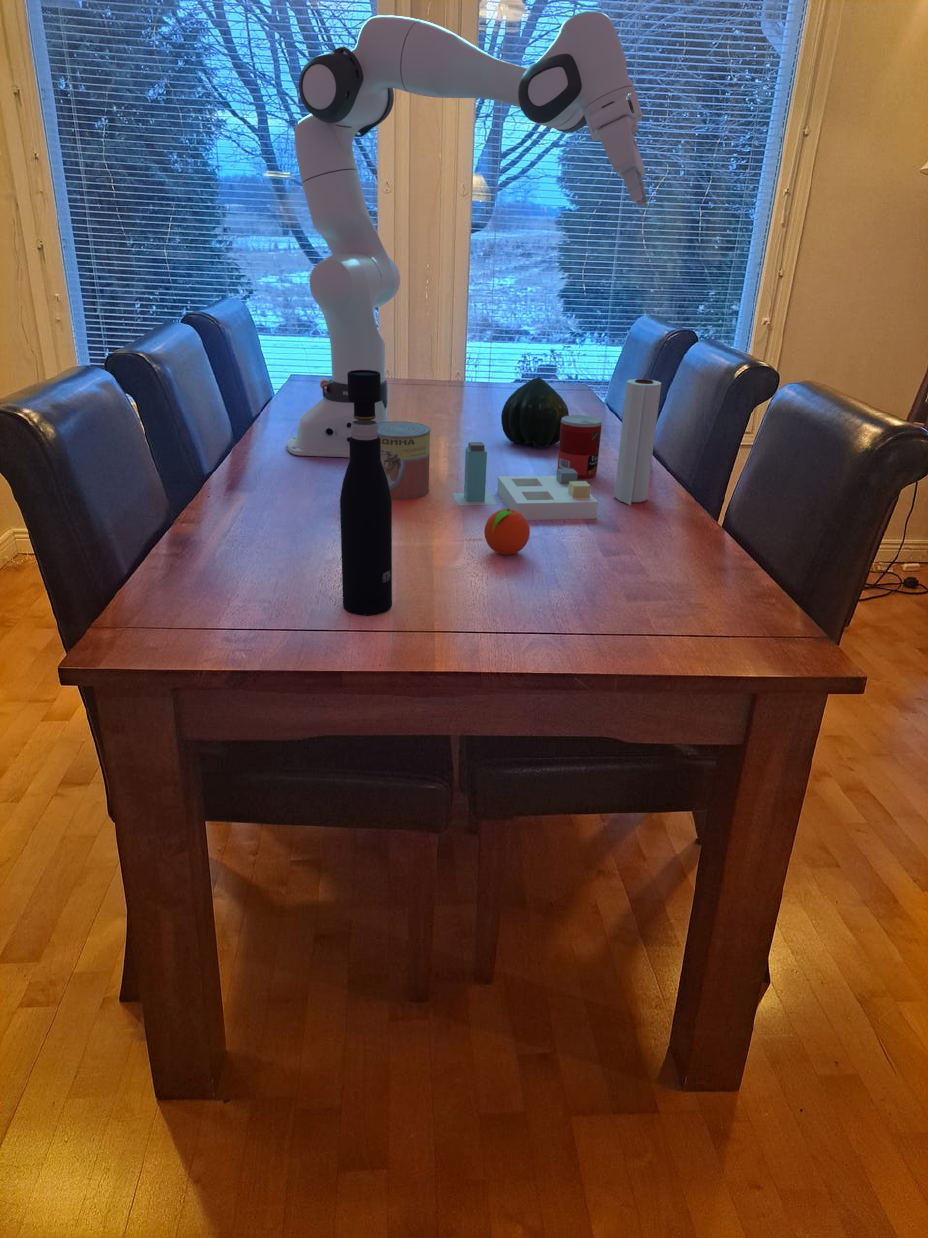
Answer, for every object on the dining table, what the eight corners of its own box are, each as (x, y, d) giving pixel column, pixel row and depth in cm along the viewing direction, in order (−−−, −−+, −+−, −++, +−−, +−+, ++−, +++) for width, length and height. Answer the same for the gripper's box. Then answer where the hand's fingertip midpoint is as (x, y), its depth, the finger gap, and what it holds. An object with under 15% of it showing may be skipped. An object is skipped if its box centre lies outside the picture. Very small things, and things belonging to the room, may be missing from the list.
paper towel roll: (626, 491, 167) (639, 376, 158) (653, 499, 163) (668, 381, 154) (603, 498, 162) (615, 380, 153) (630, 506, 158) (644, 385, 149)
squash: (526, 431, 185) (562, 372, 187) (479, 421, 196) (512, 365, 197) (559, 468, 196) (592, 411, 197) (512, 456, 206) (543, 402, 207)
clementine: (511, 567, 130) (513, 521, 127) (471, 557, 133) (472, 512, 130) (536, 551, 136) (539, 507, 133) (497, 542, 139) (499, 499, 136)
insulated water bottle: (343, 595, 119) (337, 367, 106) (391, 595, 119) (391, 368, 106) (341, 615, 113) (335, 376, 100) (392, 615, 113) (391, 377, 101)
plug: (467, 501, 156) (469, 446, 152) (464, 496, 159) (465, 441, 155) (484, 501, 156) (487, 445, 152) (481, 496, 159) (483, 441, 155)
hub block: (516, 523, 148) (517, 491, 146) (497, 494, 162) (498, 465, 160) (596, 521, 150) (599, 490, 148) (570, 493, 165) (572, 464, 162)
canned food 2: (595, 480, 173) (600, 425, 168) (554, 477, 174) (559, 421, 170) (597, 470, 180) (603, 416, 175) (558, 467, 181) (563, 413, 176)
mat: (458, 508, 154) (458, 505, 154) (451, 496, 160) (452, 493, 160) (497, 507, 155) (497, 504, 155) (489, 495, 162) (489, 492, 161)
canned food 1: (356, 498, 158) (355, 431, 153) (383, 481, 168) (383, 418, 163) (414, 506, 155) (415, 438, 150) (438, 489, 164) (439, 425, 159)
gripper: (604, 135, 157) (628, 214, 160) (587, 116, 139) (615, 206, 142) (638, 119, 155) (662, 199, 158) (626, 97, 136) (653, 188, 140)
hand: (640, 202), depth 150 cm, fingers open, 8 cm apart
